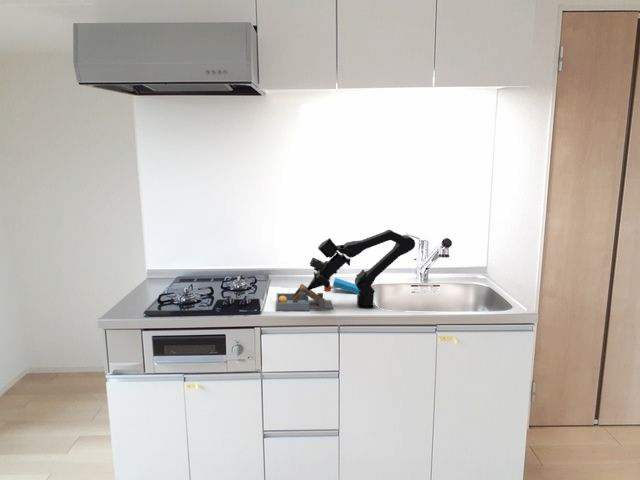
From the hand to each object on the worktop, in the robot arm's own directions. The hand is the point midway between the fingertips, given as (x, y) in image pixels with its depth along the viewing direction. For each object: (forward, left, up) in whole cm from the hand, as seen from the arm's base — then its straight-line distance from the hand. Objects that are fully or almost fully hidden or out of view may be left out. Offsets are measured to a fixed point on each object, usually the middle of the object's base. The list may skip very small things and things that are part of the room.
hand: (307, 289), depth 202 cm
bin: (+7, 0, -8) cm, 10 cm away
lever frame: (-6, 0, -8) cm, 10 cm away
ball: (+11, 0, -5) cm, 12 cm away
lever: (-19, -22, -8) cm, 30 cm away
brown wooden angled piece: (-4, 0, -8) cm, 9 cm away
